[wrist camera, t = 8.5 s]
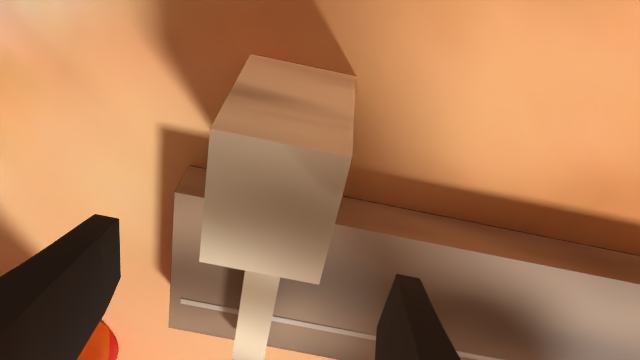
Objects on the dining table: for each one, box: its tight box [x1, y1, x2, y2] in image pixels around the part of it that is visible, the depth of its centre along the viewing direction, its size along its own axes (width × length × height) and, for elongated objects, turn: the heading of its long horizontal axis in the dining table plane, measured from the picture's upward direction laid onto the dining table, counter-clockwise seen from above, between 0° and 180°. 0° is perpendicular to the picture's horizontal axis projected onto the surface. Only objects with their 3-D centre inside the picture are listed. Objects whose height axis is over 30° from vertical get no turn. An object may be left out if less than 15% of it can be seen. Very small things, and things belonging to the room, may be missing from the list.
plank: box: [169, 166, 640, 360], centre depth 24 cm, size 8×22×2 cm, turn 79°
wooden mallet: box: [199, 54, 356, 360], centre depth 21 cm, size 13×4×6 cm, turn 169°
